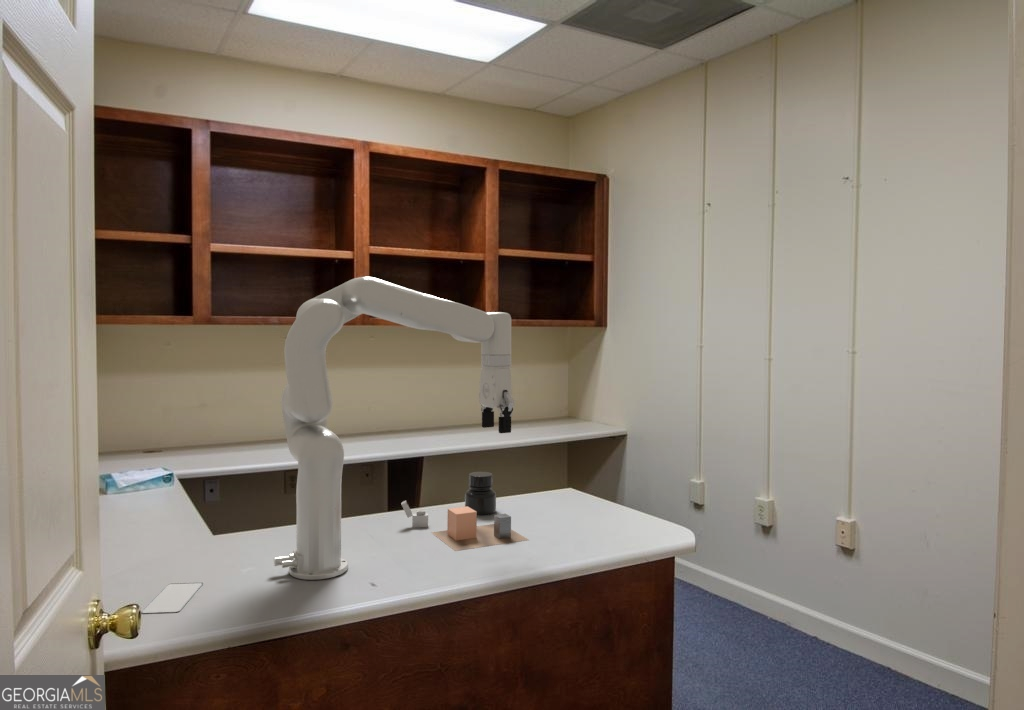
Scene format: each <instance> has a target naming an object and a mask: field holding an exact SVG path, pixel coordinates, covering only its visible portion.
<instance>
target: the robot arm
mask: <svg viewBox="0 0 1024 710" xmlns="http://www.w3.org/2000/svg"><path fill="white" fill-rule="evenodd" d="M363 314H364V315H367V316H370V317H374V318H378V319H381V320H385V321H388V322H392V323H395V324H398V325H402V326H404V327H408V328H413V329H416V330H423V331H424V330H425V331H435V332H440V333H445V334H449V335H450V336H451V338H453V339H455V340H456V341H459V342H463V343H477V344H478V343H480V346H481V347H480V348H481V349H480V356H481V357H480V363H481V364H480V365H481V366H480V368H481V369H480V375H479V391H478V392H479V393H478V403H479V405H480V406H481V409H480V411H481V427H482V428H484V429H485V428H494V426H495V411H493V410H495V409H497V411H498V414H499V416H498V433H499V434H509V433H512V416H513V411H514V405H515V400H514V398H513V395H512V394H513V390H512V389H513V386H512V375H511V368H512V317H511V314H510V313H509V312H502V311H496V312H495V311H491V312H490V311H487V312H486V311H484V310H481V309H478V308H476V307H473V306H472V307H471V306H469V305H466V304H463V303H460V302H455V301H452V300H450V299H449V300H448V299H444V298H440V297H437V296H435V295H432V294H428V293H423V292H421V291H417V290H414V289H411V288H407V287H405V286H401V285H398V284H395V283H392V282H389V281H386V280H383V279H380V278H377V277H373V276H359V277H355V278H352V279H349V280H348V281H345V282H344V283H343V282H342V284H340V285H338V286H335V287H333V288H332V289H329V290H328V291H325V292H323V293H320V294H319V295H316V296H315V297H313V298H310V299H308V300H306V301H305V302H303V303H302V304H301V305H300V306H299V307H298V309H297V312H296V316H295V320H294V322H293V323H292V324H291V326H290V328H289V330H288V333H287V335H286V338H285V341H284V342H285V343H284V365H285V373H286V374H285V375H286V380H287V381H286V382H287V384H286V385H285V386H284V388H283V390H282V393H281V399H280V400H281V401H280V404H281V412H282V413H281V414H282V418H283V425H284V432H285V436H286V441H287V447H288V451H289V452H290V455H291V456H292V457H293V458H294V460H295V461H297V463H298V465H297V466H298V467H297V475H296V477H297V479H296V494H295V499H296V500H295V501H296V548H293V549H292V550H293V551H292V553H288V555H284V556H283V555H281V556H274V557H273V564H274V565H273V566H274V567H278V566H281V568H282V569H285V568H288V571H289V575H290V576H292V577H293V578H296V579H299V580H307V581H308V580H309V581H310V580H311V581H315V580H316V581H318V580H325V579H326V580H327V579H330V578H335V577H338V576H340V575H342V574H344V573H346V572H347V570H348V569H349V561H347V559H345V558H343V557H342V476H343V468H344V461H345V451H344V445H343V443H342V440H341V439H340V437H338V435H337V434H336V433H334V432H333V431H332V430H330V429H328V423H327V418H328V416H329V415H330V414H331V411H332V410H333V396H332V393H331V392H332V391H331V387H330V382H329V381H330V380H329V376H328V368H327V361H326V360H327V358H326V357H327V355H326V352H327V351H326V350H327V347H328V344H329V342H330V341H331V339H332V338H333V336H335V335H336V334H338V333H339V332H340V331H341V329H342V328H343V326H344V324H346V323H347V322H348V323H349V322H350V321H351V320H354V319H355V318H358V317H359V316H360V315H363Z"/></svg>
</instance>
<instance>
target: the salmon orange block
mask: <svg viewBox="0 0 1024 710" xmlns="http://www.w3.org/2000/svg"><path fill="white" fill-rule="evenodd" d="M477 517H478V516H477V512H476V511H475V510H473V509H471V508H470V507H468V506H467V507H465V506H460V507H453V508H452V507H451V508H450V507H449V508H447V524H446V525H447V526H446V527H447V528H446V529H447V534H448V535H449V536H450V537H452V538H453V539H454V540H463V539H470V538H476V532H477V526H478V522H477V521H478V519H477Z"/></svg>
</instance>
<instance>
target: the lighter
mask: <svg viewBox="0 0 1024 710" xmlns="http://www.w3.org/2000/svg"><path fill="white" fill-rule="evenodd" d="M400 504H401V507H402V508H403V511H404V514H405V515H406V517H407V518H411V517H412V520H411V521H412V522H411V523H412V524H411V525H412V527H411V528H429V513H427V512H426V511H425V510H416V513H413V511H412V510H411V508H410V506H409V503H408V502H407V500H403V501H402V502H401V503H400Z"/></svg>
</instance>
